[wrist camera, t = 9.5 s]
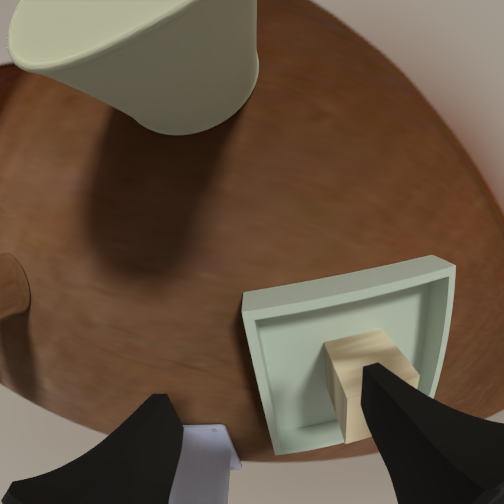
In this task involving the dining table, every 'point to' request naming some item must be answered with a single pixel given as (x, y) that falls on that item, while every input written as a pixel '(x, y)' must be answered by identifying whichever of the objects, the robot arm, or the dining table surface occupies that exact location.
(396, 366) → the birch block
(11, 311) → the beer glass
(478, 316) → the dining table surface
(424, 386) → the bin
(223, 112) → the can
